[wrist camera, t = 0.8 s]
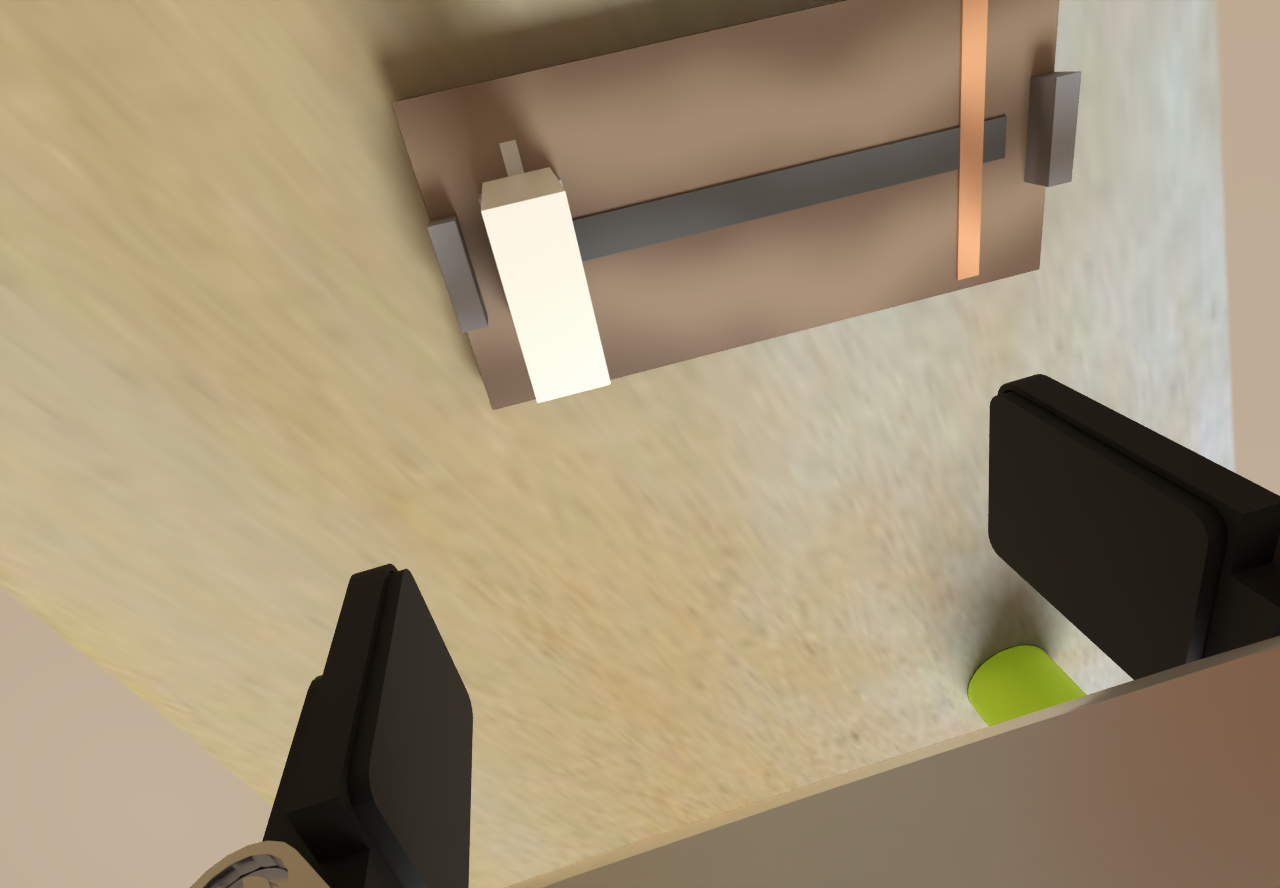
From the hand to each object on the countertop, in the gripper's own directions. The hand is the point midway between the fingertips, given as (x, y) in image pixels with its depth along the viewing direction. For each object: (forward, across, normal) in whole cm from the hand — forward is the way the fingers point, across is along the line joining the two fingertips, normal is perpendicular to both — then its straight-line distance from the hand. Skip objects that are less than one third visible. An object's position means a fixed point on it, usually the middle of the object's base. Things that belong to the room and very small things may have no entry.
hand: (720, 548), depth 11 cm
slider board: (+22, -8, -1) cm, 23 cm away
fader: (+19, +2, -1) cm, 19 cm away
